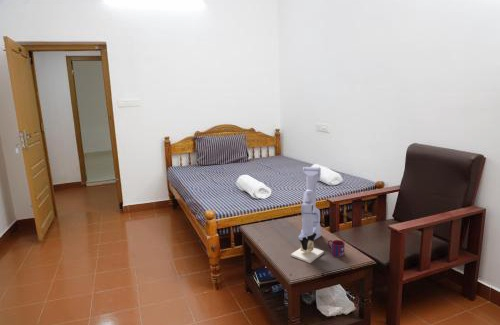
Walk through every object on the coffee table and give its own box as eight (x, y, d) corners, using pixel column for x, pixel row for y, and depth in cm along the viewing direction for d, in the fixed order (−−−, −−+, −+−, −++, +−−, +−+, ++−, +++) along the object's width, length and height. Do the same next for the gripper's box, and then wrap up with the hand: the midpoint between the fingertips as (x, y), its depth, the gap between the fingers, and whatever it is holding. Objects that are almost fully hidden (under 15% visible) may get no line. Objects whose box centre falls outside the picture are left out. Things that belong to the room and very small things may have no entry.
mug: (337, 258, 179) (338, 246, 177) (324, 251, 187) (324, 239, 186) (346, 255, 182) (347, 243, 181) (333, 247, 191) (333, 236, 189)
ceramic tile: (305, 246, 193) (305, 244, 193) (323, 253, 185) (323, 251, 185) (291, 256, 183) (291, 254, 183) (309, 263, 175) (309, 261, 175)
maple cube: (305, 247, 187) (305, 238, 186) (313, 249, 184) (313, 241, 183) (300, 250, 184) (300, 242, 183) (308, 253, 180) (308, 244, 179)
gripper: (308, 218, 188) (308, 240, 191) (293, 226, 178) (293, 250, 181) (319, 221, 183) (319, 244, 186) (304, 230, 173) (304, 254, 176)
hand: (307, 247), depth 183 cm, fingers closed on maple cube, 5 cm apart
